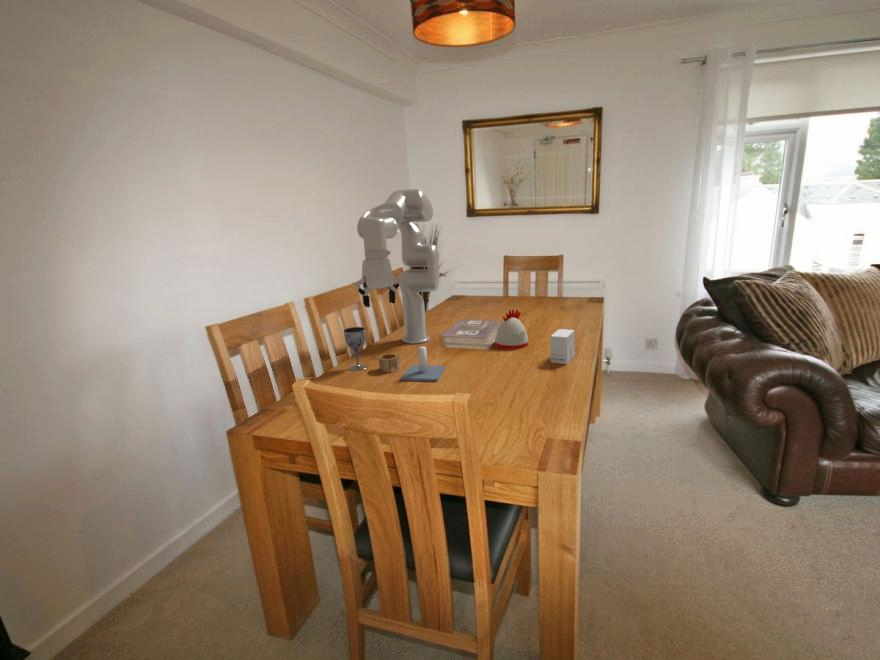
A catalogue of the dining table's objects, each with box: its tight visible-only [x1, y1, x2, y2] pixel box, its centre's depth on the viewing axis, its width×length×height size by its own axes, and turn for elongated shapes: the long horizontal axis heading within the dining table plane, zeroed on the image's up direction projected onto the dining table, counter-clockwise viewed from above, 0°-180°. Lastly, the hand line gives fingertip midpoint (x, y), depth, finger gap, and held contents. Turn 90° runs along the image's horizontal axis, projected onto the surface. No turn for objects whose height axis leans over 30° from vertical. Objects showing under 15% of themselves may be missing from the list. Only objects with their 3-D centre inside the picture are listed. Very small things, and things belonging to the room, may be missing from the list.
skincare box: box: [550, 328, 576, 365], centre depth 173 cm, size 10×6×10 cm, turn 149°
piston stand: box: [400, 346, 446, 382], centre depth 165 cm, size 13×13×10 cm
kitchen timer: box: [494, 308, 529, 350], centre depth 194 cm, size 14×14×15 cm
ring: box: [378, 353, 401, 374], centre depth 172 cm, size 7×7×5 cm
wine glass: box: [343, 326, 368, 372], centre depth 175 cm, size 8×8×15 cm
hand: (379, 304), depth 162 cm, fingers open, 9 cm apart
